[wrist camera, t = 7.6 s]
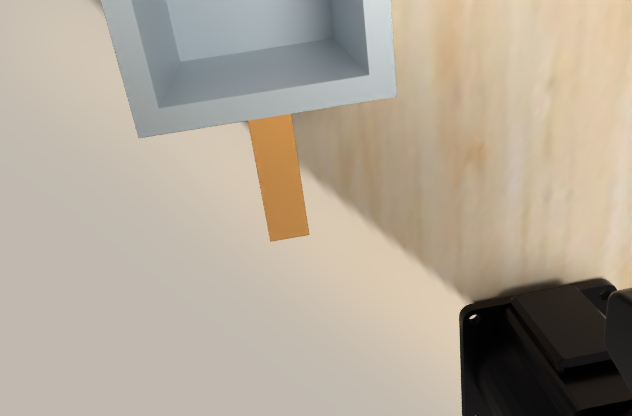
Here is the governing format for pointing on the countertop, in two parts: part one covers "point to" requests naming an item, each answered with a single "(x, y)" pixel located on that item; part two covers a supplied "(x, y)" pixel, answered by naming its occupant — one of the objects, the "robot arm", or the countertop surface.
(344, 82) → the toner caddy
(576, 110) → the countertop surface
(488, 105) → the countertop surface
